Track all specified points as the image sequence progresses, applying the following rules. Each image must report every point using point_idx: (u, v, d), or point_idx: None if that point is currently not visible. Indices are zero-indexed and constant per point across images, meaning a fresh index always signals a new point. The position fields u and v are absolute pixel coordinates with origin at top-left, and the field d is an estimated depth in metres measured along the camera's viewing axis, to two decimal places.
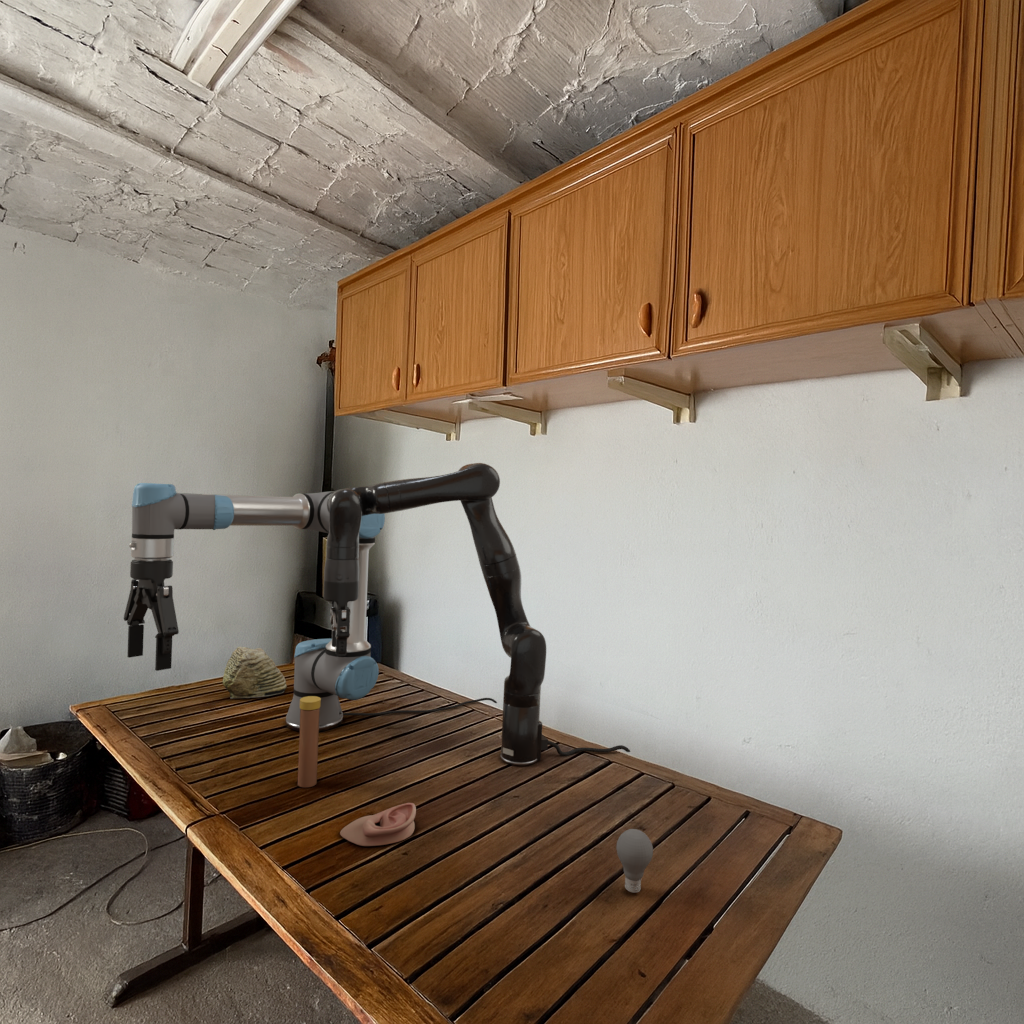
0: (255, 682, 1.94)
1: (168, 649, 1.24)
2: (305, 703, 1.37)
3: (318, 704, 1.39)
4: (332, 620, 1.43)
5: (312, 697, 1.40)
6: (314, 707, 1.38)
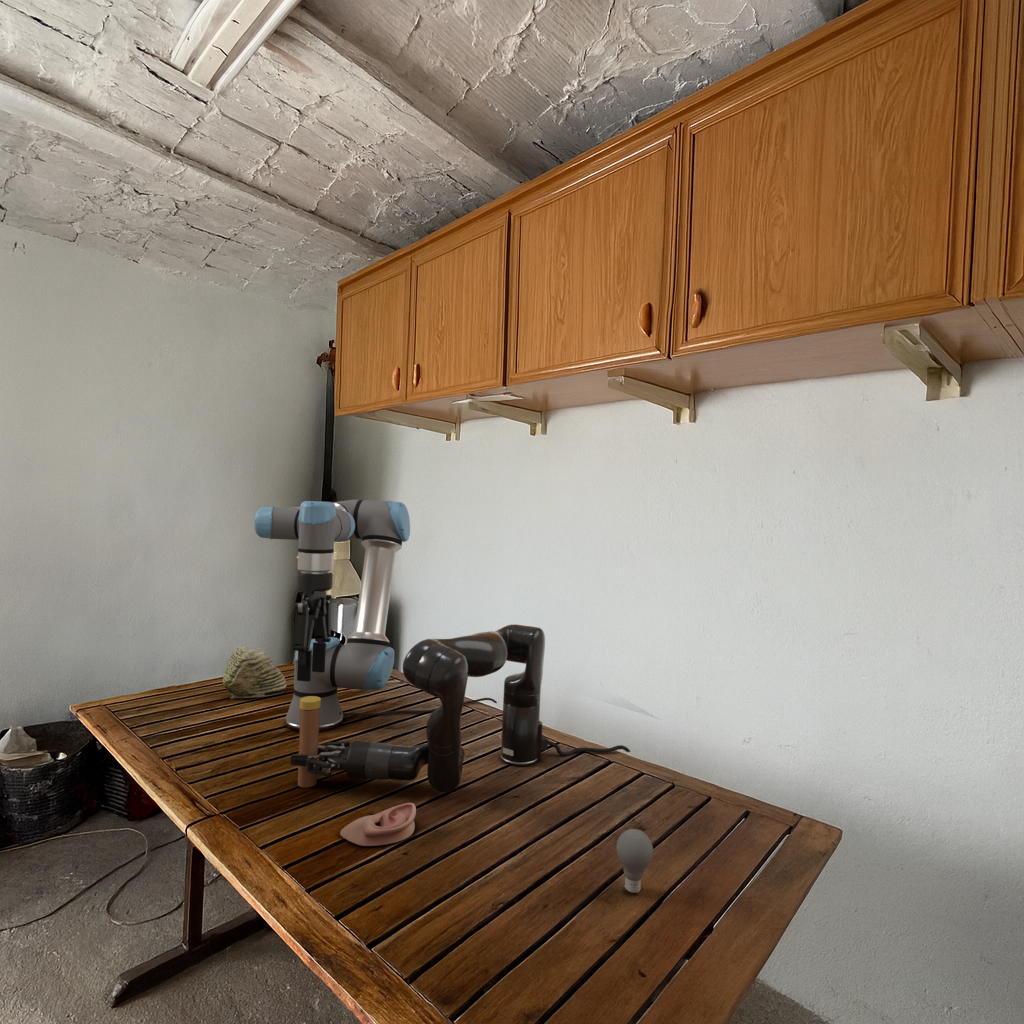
0: (255, 682, 1.94)
1: (302, 663, 1.34)
2: (305, 703, 1.37)
3: (318, 704, 1.39)
4: None
5: (312, 697, 1.40)
6: (314, 707, 1.38)
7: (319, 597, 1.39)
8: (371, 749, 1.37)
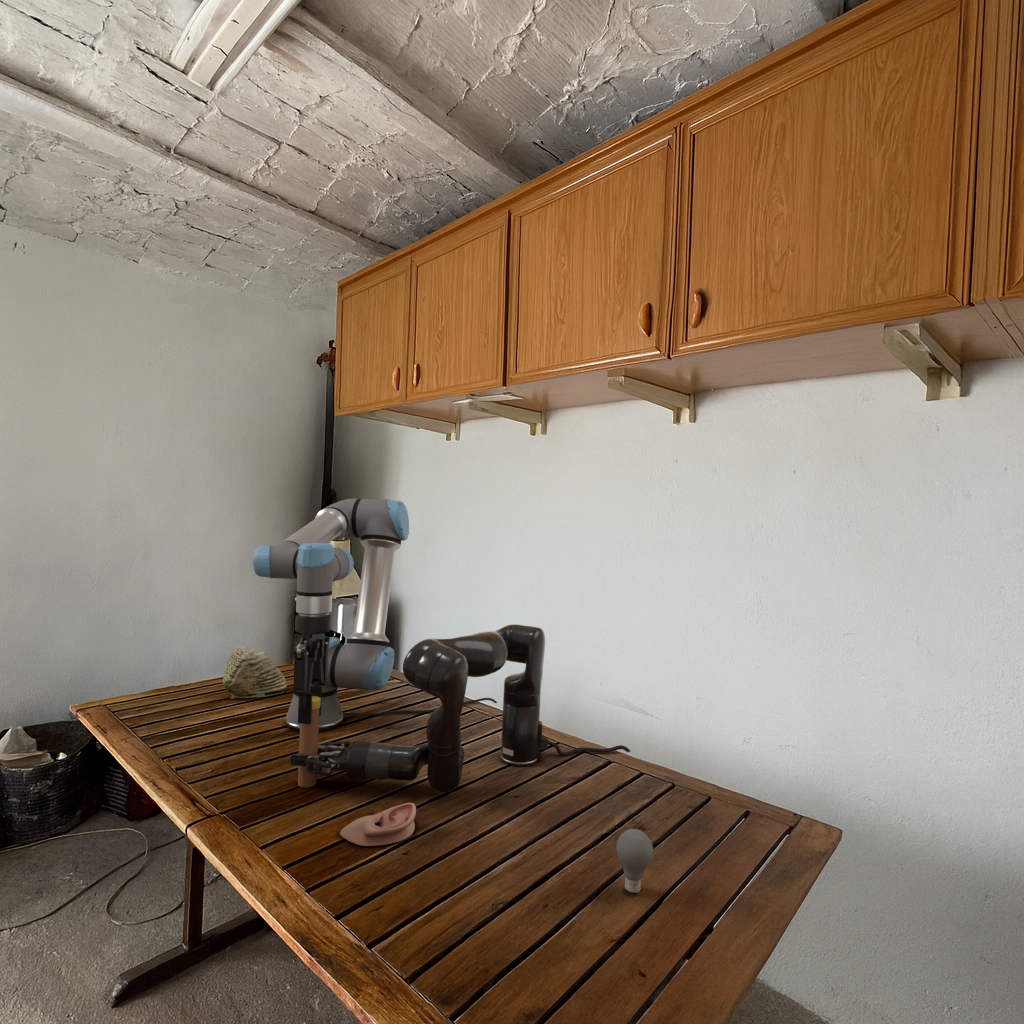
0: (255, 682, 1.94)
1: (303, 706, 1.35)
2: None
3: (318, 704, 1.39)
4: None
5: (312, 697, 1.40)
6: (314, 707, 1.38)
7: (317, 639, 1.39)
8: (371, 749, 1.37)
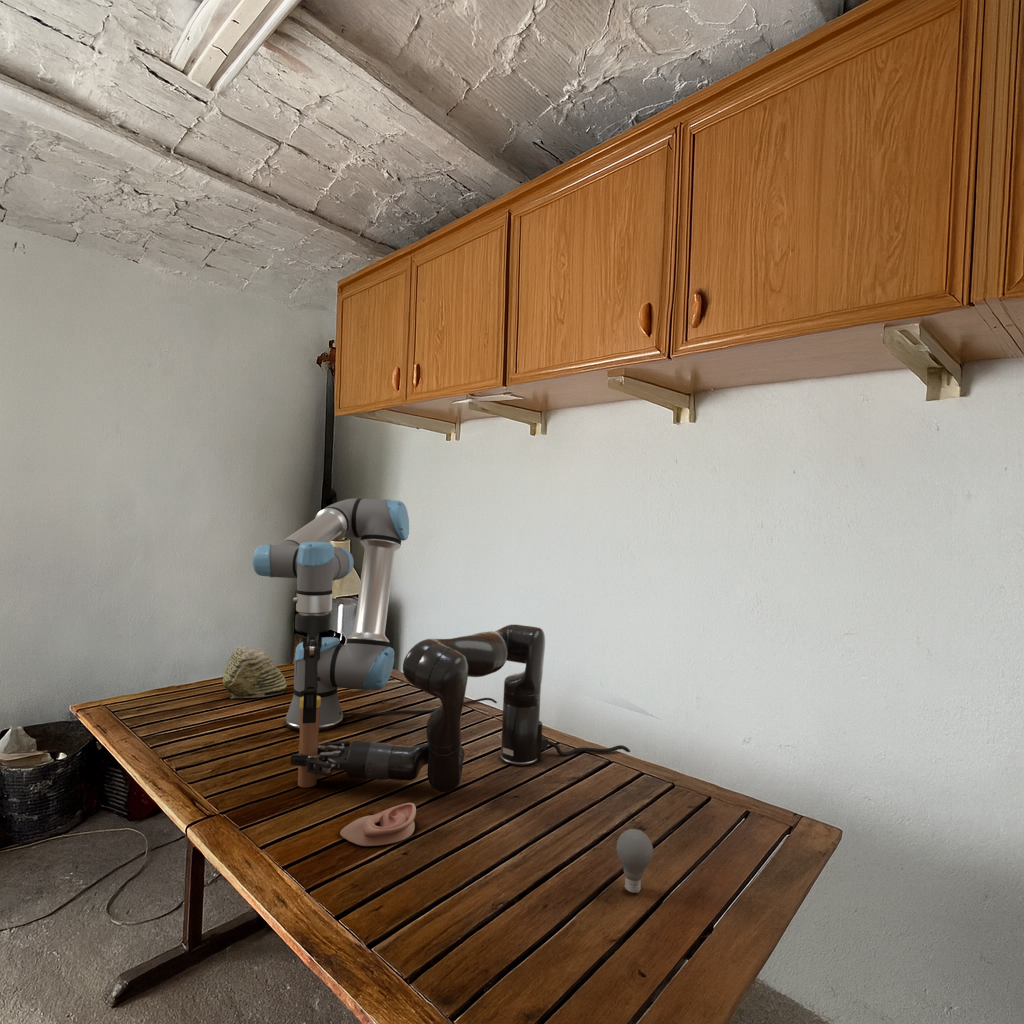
0: (255, 682, 1.94)
1: (310, 705, 1.34)
2: (318, 701, 1.38)
3: None
4: None
5: None
6: None
7: (318, 637, 1.40)
8: (371, 749, 1.37)
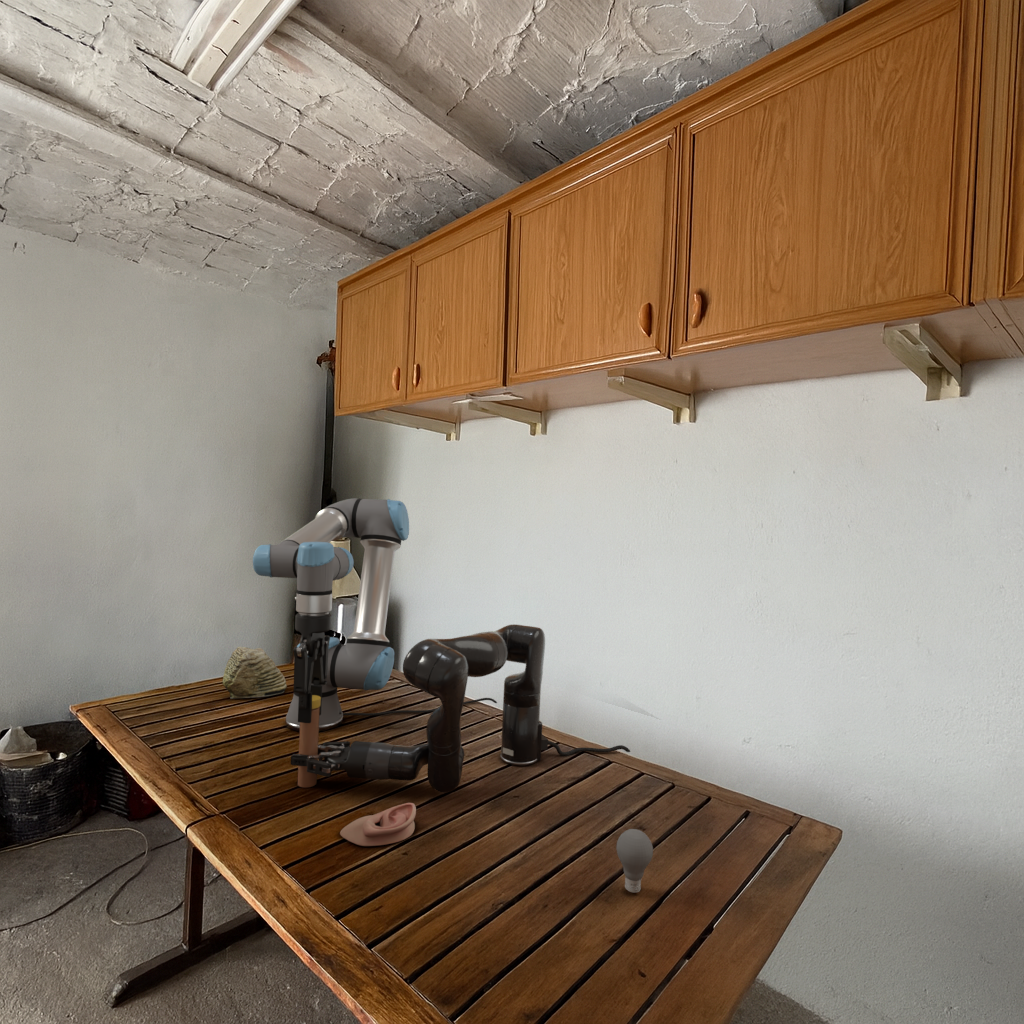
0: (255, 682, 1.94)
1: (303, 705, 1.35)
2: (318, 701, 1.38)
3: None
4: None
5: None
6: None
7: (317, 638, 1.39)
8: (371, 749, 1.37)
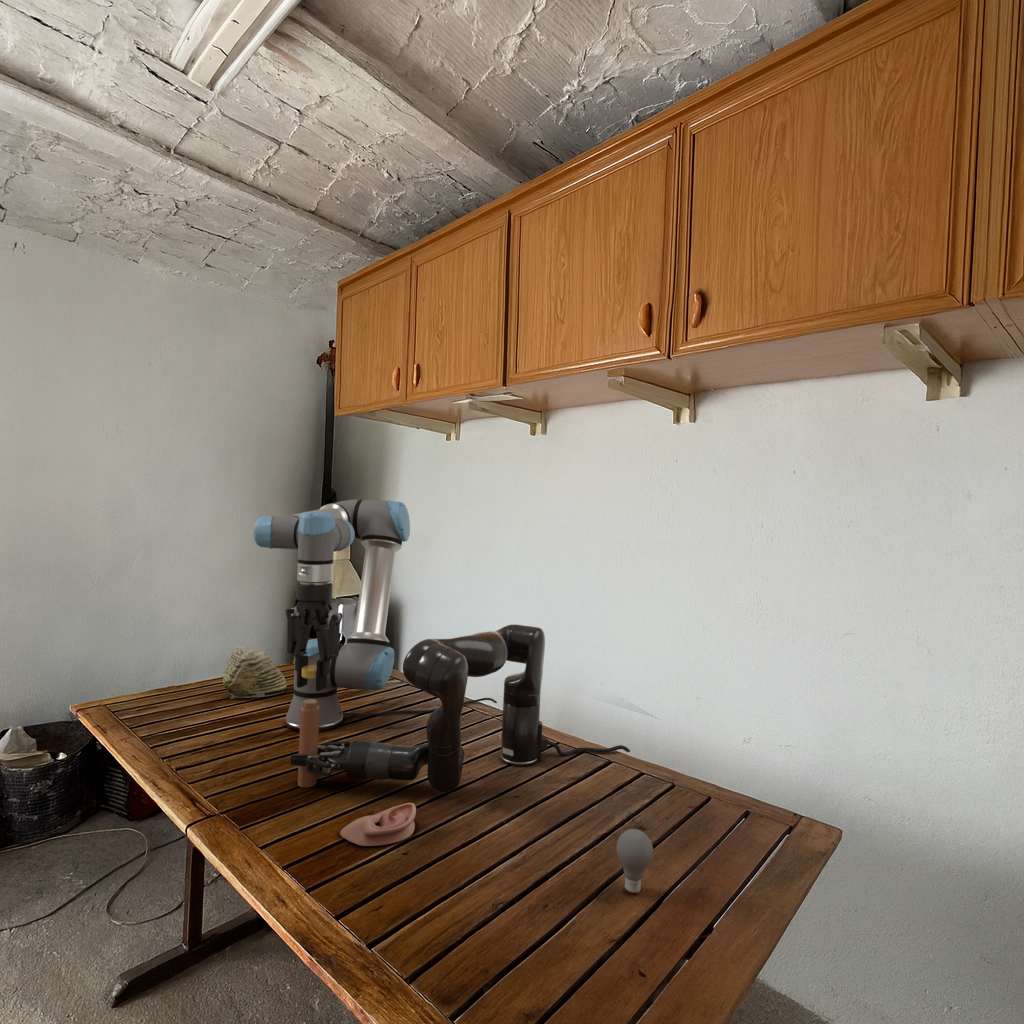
0: (255, 682, 1.94)
1: (328, 671, 1.38)
2: None
3: None
4: None
5: (307, 669, 1.38)
6: None
7: None
8: (371, 749, 1.37)
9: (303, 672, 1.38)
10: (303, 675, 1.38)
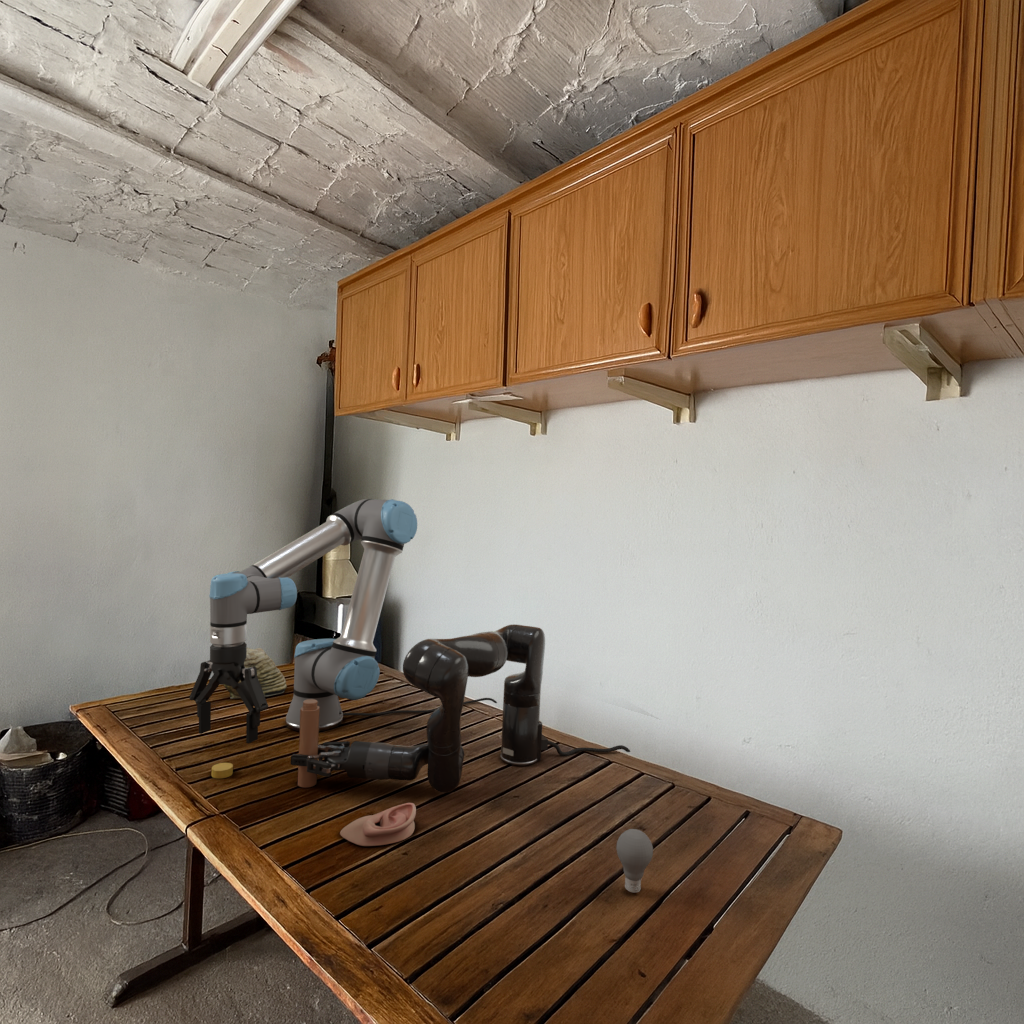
0: None
1: (258, 723, 1.40)
2: None
3: None
4: None
5: (217, 768, 1.41)
6: None
7: None
8: (371, 749, 1.37)
9: (212, 772, 1.41)
10: (212, 775, 1.41)
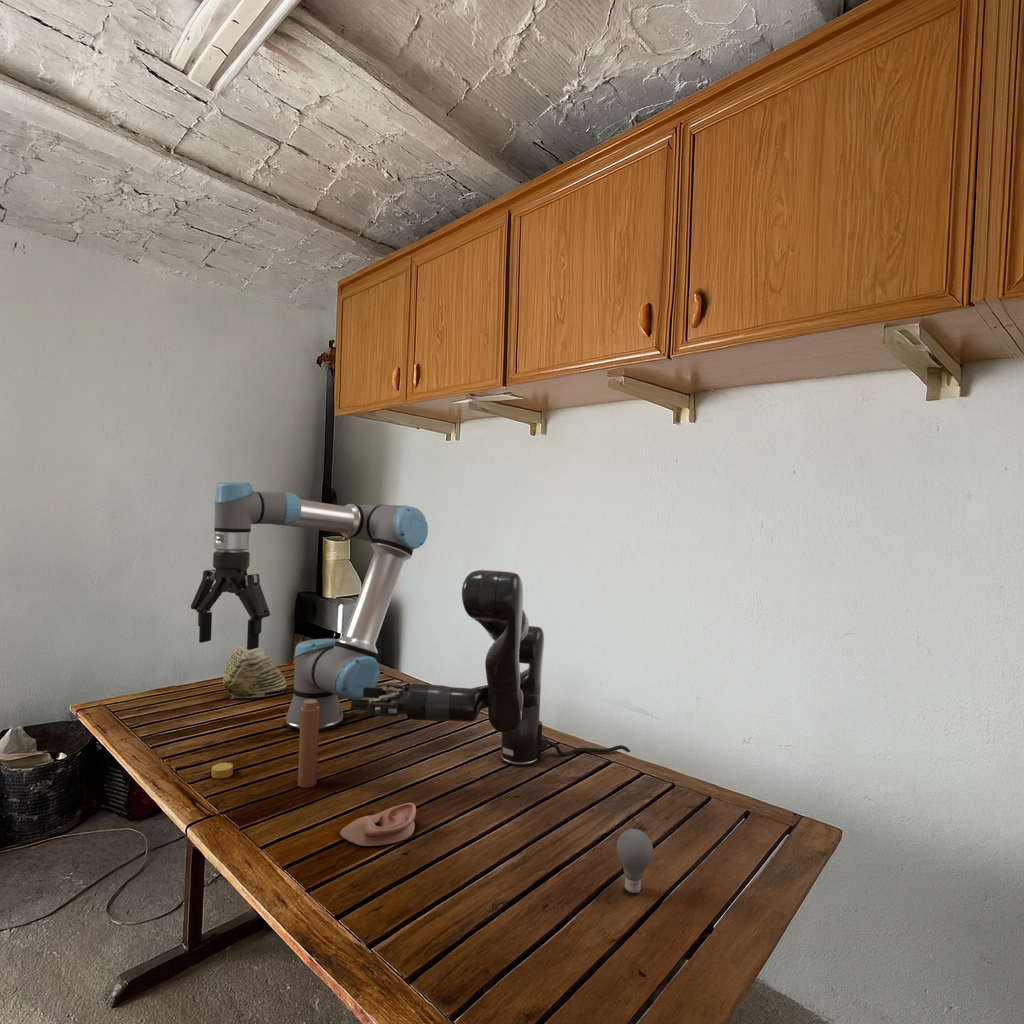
0: (255, 682, 1.94)
1: (259, 630, 1.39)
2: None
3: None
4: None
5: (217, 768, 1.41)
6: None
7: None
8: (431, 690, 1.36)
9: (212, 772, 1.41)
10: (212, 775, 1.41)
